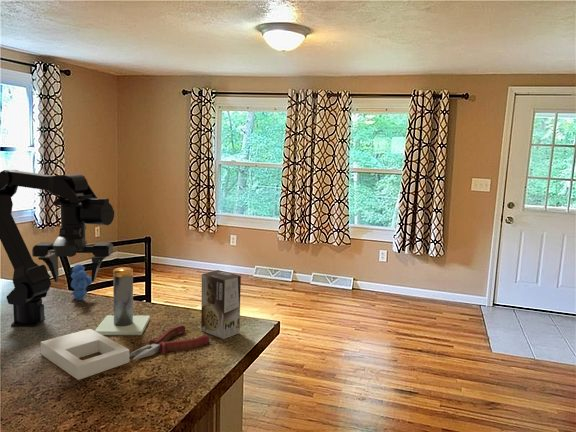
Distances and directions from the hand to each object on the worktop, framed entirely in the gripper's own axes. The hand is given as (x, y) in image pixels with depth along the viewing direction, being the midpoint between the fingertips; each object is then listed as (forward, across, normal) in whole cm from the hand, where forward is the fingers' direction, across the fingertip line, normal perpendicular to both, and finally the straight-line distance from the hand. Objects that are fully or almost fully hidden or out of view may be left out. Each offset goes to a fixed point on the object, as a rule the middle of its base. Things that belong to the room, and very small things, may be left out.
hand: (74, 281), depth 124 cm
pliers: (+14, +25, -11) cm, 30 cm away
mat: (+13, +12, +2) cm, 18 cm away
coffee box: (+14, +38, -2) cm, 41 cm away
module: (+12, +12, +2) cm, 17 cm away
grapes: (+13, -6, +25) cm, 29 cm away
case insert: (+13, +7, -18) cm, 24 cm away
